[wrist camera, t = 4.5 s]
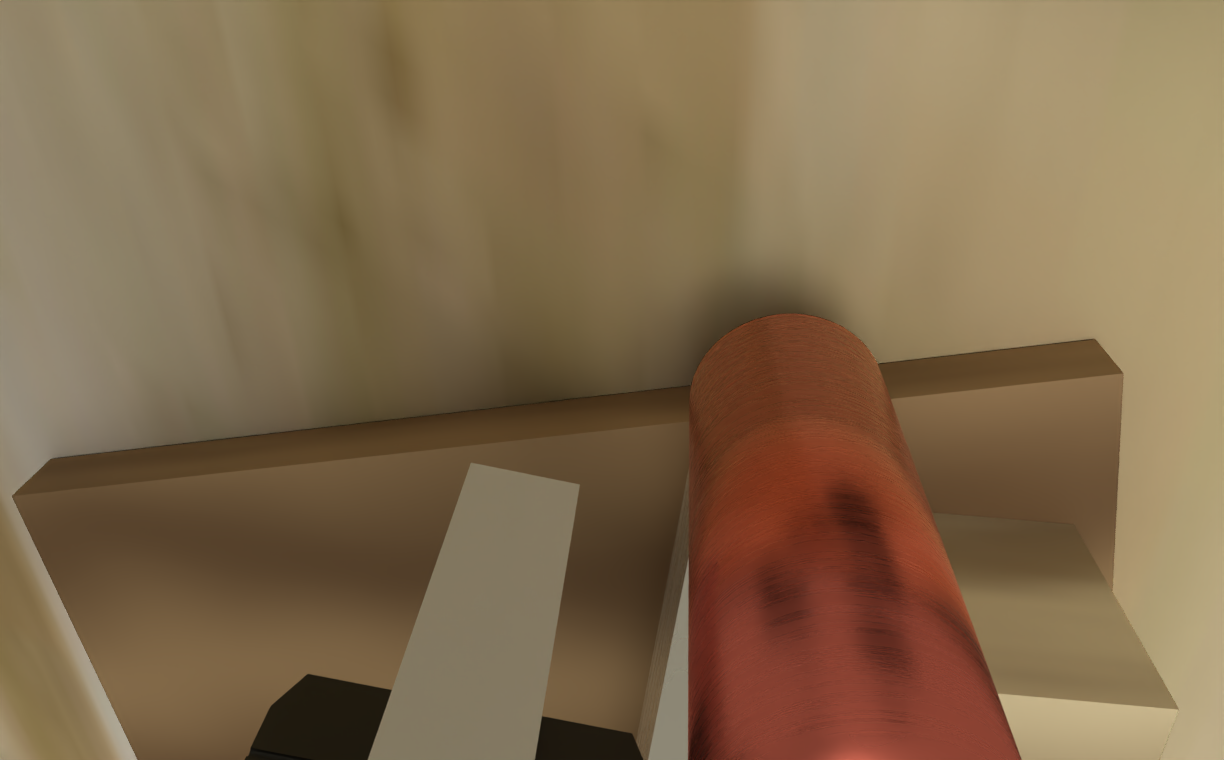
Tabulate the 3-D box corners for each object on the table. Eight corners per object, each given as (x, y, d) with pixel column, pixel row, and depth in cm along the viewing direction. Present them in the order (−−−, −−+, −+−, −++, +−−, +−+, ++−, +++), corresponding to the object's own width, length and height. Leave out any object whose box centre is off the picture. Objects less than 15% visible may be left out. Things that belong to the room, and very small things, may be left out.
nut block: (815, 503, 21) (849, 680, 16) (1074, 524, 21) (1179, 710, 16) (783, 696, 23) (805, 899, 19) (1016, 717, 23) (1094, 927, 18)
